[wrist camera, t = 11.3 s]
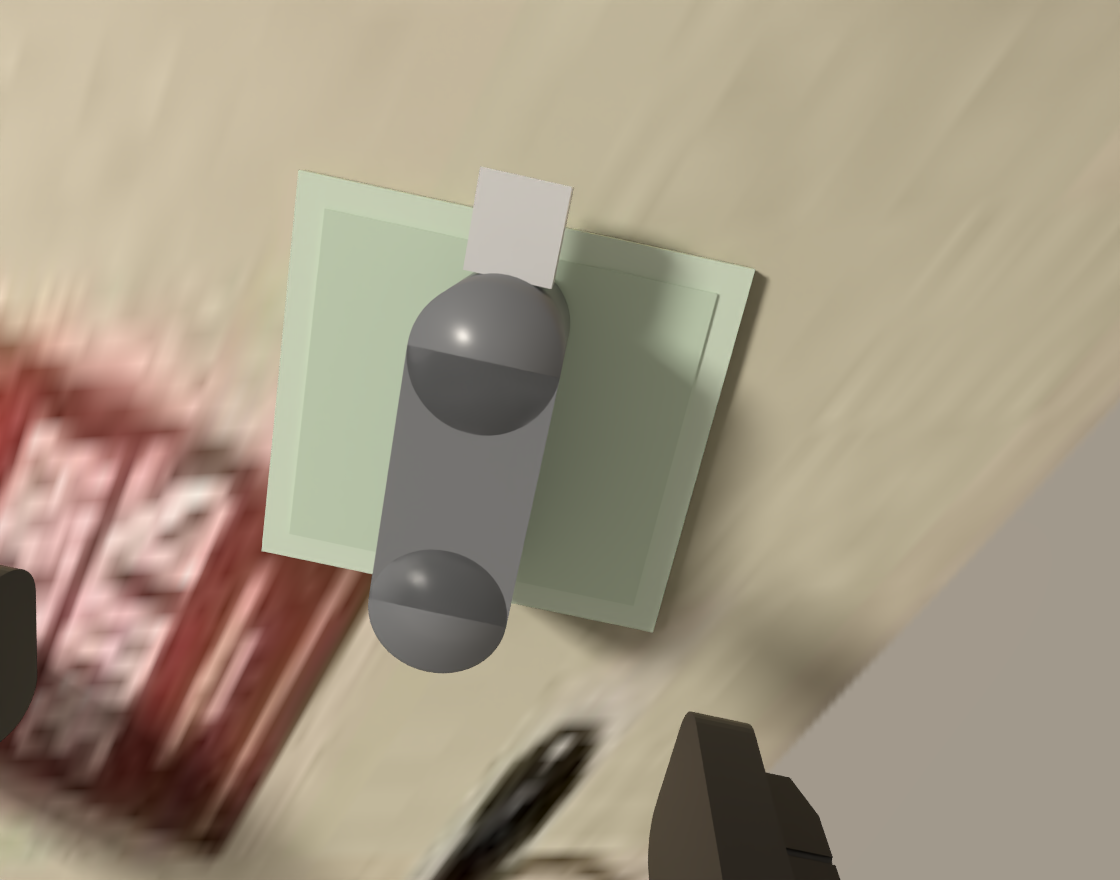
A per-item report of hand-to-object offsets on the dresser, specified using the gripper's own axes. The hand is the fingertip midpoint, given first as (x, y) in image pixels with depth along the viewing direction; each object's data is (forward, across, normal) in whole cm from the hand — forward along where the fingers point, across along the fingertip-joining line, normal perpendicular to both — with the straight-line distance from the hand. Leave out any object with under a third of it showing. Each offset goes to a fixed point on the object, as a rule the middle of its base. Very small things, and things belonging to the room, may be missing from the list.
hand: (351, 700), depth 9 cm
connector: (+13, 0, 0) cm, 13 cm away
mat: (+13, 0, 0) cm, 13 cm away
